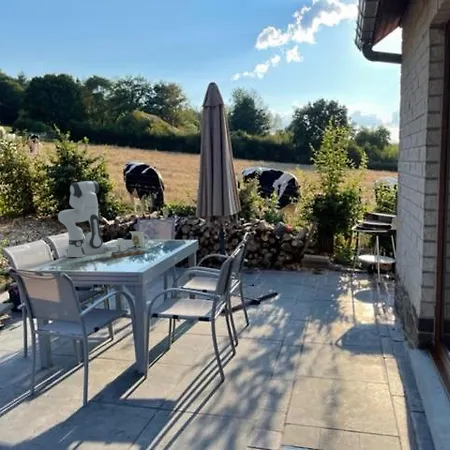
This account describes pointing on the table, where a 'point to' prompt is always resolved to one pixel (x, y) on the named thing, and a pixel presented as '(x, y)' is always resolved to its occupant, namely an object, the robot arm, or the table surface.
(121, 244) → the fader tab
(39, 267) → the table surface
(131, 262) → the table surface
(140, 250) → the fader track
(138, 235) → the pitcher
